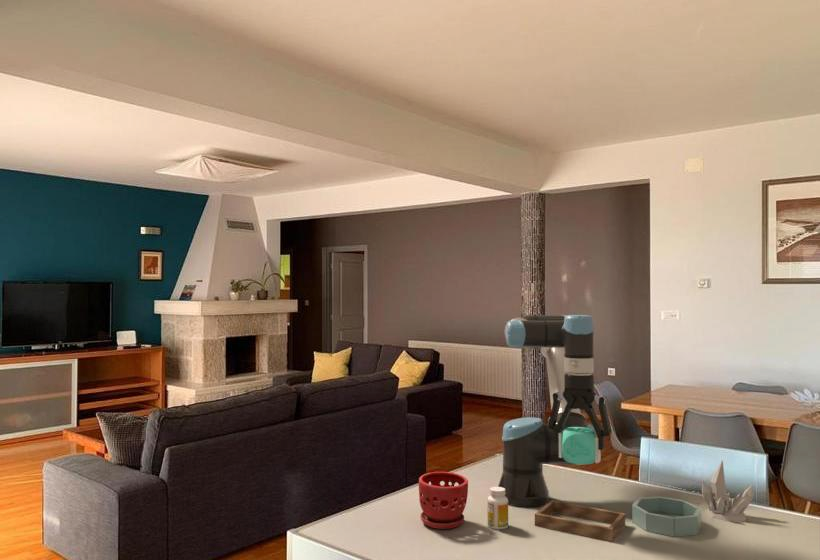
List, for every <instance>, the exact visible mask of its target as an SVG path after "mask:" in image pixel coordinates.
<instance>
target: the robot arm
mask: <svg viewBox="0 0 820 560" xmlns="http://www.w3.org/2000/svg"><path fill="white" fill-rule="evenodd" d="M594 330H595V326H594V318H593V316H592V315H590V314H567V315H566V314H565V315H564V314H559V315H552V314H551V315H549V314H548V315H547V314H546V315H545V314H543V315H542V314H541V315H539V314H536V315H535V314H527V315H522V316H518V317H514V318H512V319H510V320H508V321H507V322H506V324H505V326H504V330H503V331H504V332H503V334H504V338H505V339H506V345H507V346H508V347H511V348H521V349H525V350H526V349H527V350H540V353H541V355H542V356H543V357H544V358H545V359H546V367H547V378H548V379H547V381H548V390H549V397H550V399H549V401H550V408H551V412H550V416H549V417H548V419H547V423H544V421H543V419H542V418H540V417H532V416H531V417H529V416H527V417H520V418H515V419H511V420H508V421H506V423H504V425H503V427H502V436H501V440H502V473H501V477H500V479H499V482H498V486H497V487H503V488H505V495H504V496H505V497H507V499H508V506H517V507H529V508H530V507H538V506H543V505H547V504H548V503H549V502H550V501H549V500H550V493H549V489H548V486H547V482H546V480H545V477H544V471H543V468H544V467H543V465H546V464H547V465H564V466H565V465H566V466H568V465H571V466H572V465H573V466H578V465H580V466H582V465H587V464H573V463H569V462H567V461H565V460H564V459H563V453H562V439H563V431H564V429H565V428H568V427H585V428H590V429H593V430H594V431H595V432H596V437H595V462H594V463H595V464H598V463H600V462H601V461H602V460H601V459H602V458H601V457H602V456H601V455H602V454H601V451H603V450H604V449H605V438H606V437H609V436H610V435H612V433H613V431H612V427H611V423H610V418H609V414H608V410H607V397H606V395H603V396H601V395H597V394H596V392H595V391H594V390H595V382H594V381H595V376H594V374H593V373H594V370H595V368H594V367H595V366H594V365H595V364H594V362H595V361H594ZM594 401H595V402H596V404H597V405H598V411H599V415H600V419H601V423H600V421H599V418H598V417H597V414H596V412H595V409H594V407H593V405H592V403H594ZM581 410H582V411H584V412H585V414H586V415H587V417H588V419H589V420H590V423H588V420H587V418H586V416H585V415H584V414H582V413H581ZM601 424H602V425H601Z"/></svg>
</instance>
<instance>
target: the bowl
mask: <svg viewBox="0 0 820 560" xmlns="http://www.w3.org/2000/svg"><path fill="white" fill-rule="evenodd" d="M631 507H632V508H631V517H632V518H631V520H632V521H631V522H632V523H633V524H635V525H636V526H637V527H639V528H641V529H643V530H644V531H646V532H648V533H655V534H659V535H665V536H668V537H669V536H670V537H685V536H695V535H698V534H699V532H700V530H701V529H702V508H701V507H699V506H697V505H694V504H693V503H690V502H688V501H686V500H685V499H684V500H683V499H678V498H672V497H665V496H659V495H658V496H648V497H637V498H636V500H635V501H634V502H633V503H632V505H631Z"/></svg>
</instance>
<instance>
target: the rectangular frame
mask: <svg viewBox="0 0 820 560" xmlns="http://www.w3.org/2000/svg"><path fill="white" fill-rule="evenodd" d="M553 514H561V515H565V516H569V517H574V518H578V519H585V520H590V521H595V522H602V523H606V524H610V525H609V526H604V525H599V524H594V523H590V522H589V523H588V522H585V521H584V522H583V521H579V520H574V519H568V518H564V517H559V516H555V515H554V516H553ZM534 526H536V527H540V528H545V529H550V530H554V531H560V532H563V533H568V534H573V535H579V536H582V537H589V538H592V539H599V540H603V541H606V542H607V541H608V542H613V541H614V540H615V538H617V536H618V535H619V534H620V533H621V531H622V530H623V528H624V527H625V526H626V513H624V512H619V511H614V510H608V509H602V508H598V507H591V506H586V505H582V504H581V505H580V504H575V503H569V502H565V501H564V502H563V501H560V500H559V501H557V500H553V499H552V500H550V501H548V502H547V503H546V504H544V506H543V507H541V508H540V509H539V510H538V511H536V512H535V513H534Z"/></svg>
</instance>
